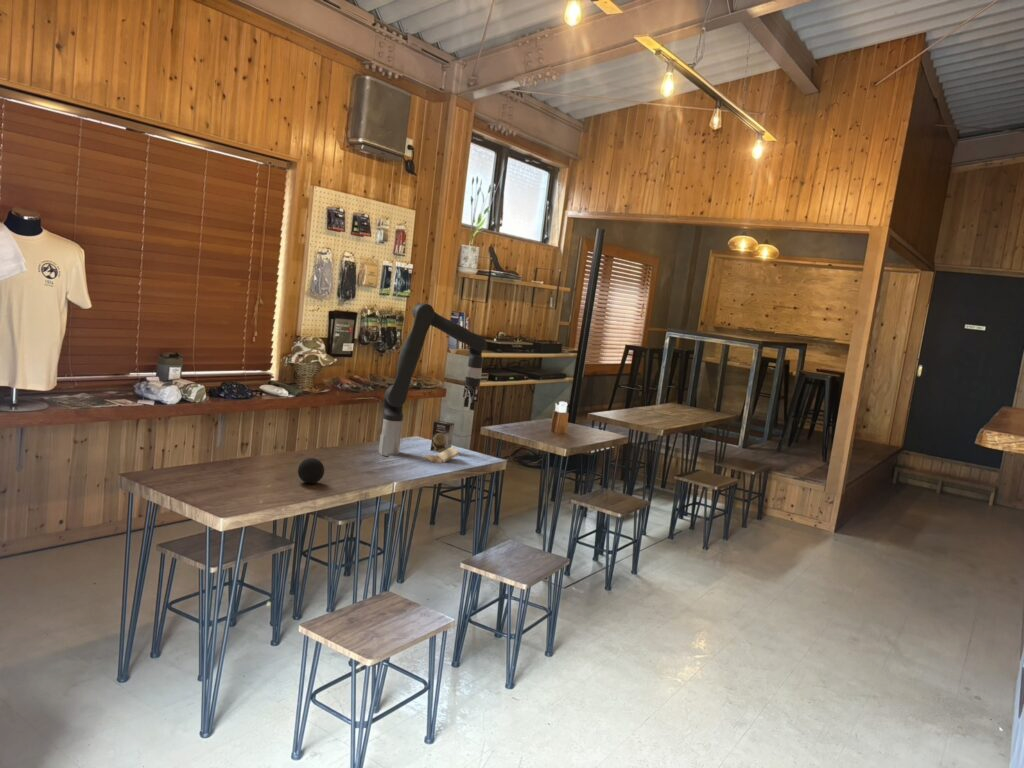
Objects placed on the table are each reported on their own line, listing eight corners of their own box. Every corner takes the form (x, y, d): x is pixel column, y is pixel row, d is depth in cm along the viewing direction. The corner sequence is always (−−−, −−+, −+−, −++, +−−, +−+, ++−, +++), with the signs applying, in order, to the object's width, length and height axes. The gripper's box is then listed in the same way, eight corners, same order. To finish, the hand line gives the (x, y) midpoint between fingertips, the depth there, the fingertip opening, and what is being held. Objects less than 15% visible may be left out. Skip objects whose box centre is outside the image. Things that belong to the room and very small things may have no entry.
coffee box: (429, 452, 367) (433, 421, 365) (434, 450, 373) (438, 419, 371) (446, 455, 364) (449, 424, 363) (451, 453, 370) (454, 422, 369)
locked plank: (431, 463, 341) (431, 460, 341) (424, 457, 351) (424, 455, 351) (443, 463, 344) (443, 460, 344) (436, 457, 354) (436, 455, 354)
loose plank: (443, 462, 344) (443, 460, 343) (436, 457, 354) (435, 455, 353) (460, 453, 346) (459, 451, 346) (453, 448, 356) (452, 446, 356)
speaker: (328, 484, 286) (330, 460, 285) (306, 487, 278) (308, 462, 277) (313, 478, 292) (315, 454, 291) (291, 481, 285) (293, 456, 284)
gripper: (461, 373, 366) (456, 405, 367) (471, 377, 353) (466, 410, 354) (475, 375, 369) (470, 406, 370) (485, 379, 356) (480, 411, 358)
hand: (468, 408), depth 362 cm, fingers open, 8 cm apart
